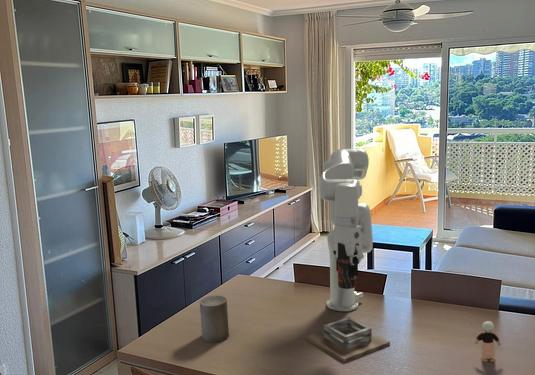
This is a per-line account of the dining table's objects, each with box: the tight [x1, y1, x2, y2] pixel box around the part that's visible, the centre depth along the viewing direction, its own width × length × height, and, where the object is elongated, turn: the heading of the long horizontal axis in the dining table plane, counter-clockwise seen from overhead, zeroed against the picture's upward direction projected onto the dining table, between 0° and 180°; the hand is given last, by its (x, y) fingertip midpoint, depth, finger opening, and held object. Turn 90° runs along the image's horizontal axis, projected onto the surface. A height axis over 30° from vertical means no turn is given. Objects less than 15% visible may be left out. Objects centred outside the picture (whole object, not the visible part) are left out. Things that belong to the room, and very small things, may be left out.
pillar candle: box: [199, 294, 230, 343], centre depth 185 cm, size 10×10×15 cm
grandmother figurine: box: [474, 320, 502, 363], centre depth 163 cm, size 8×4×13 cm, turn 92°
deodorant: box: [338, 243, 357, 289], centre depth 174 cm, size 6×6×15 cm
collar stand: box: [306, 316, 391, 363], centre depth 179 cm, size 20×20×6 cm
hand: (347, 272), depth 175 cm, fingers closed on deodorant, 5 cm apart
